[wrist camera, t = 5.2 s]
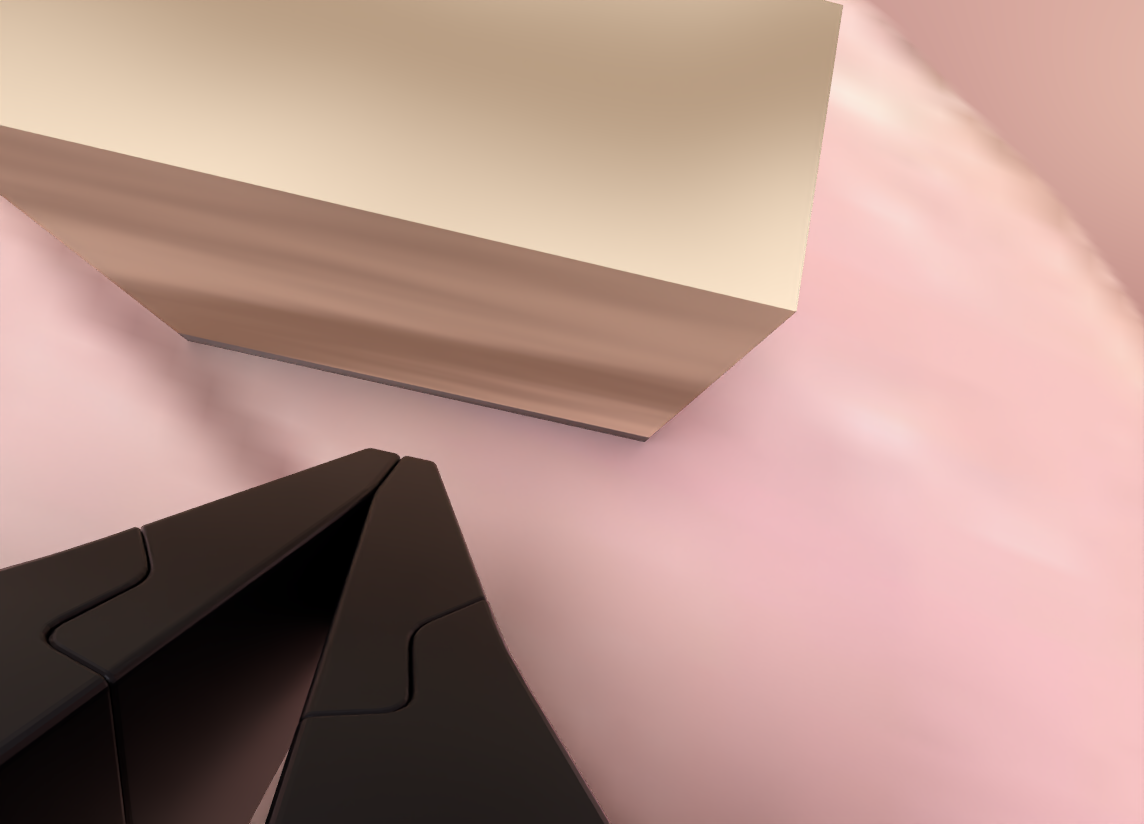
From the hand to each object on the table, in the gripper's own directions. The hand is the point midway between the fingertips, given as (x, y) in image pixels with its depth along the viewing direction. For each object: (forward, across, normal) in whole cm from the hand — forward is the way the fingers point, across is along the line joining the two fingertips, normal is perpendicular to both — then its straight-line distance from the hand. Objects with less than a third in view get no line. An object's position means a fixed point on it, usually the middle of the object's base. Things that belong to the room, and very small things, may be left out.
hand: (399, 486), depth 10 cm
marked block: (+9, -1, -2) cm, 9 cm away
